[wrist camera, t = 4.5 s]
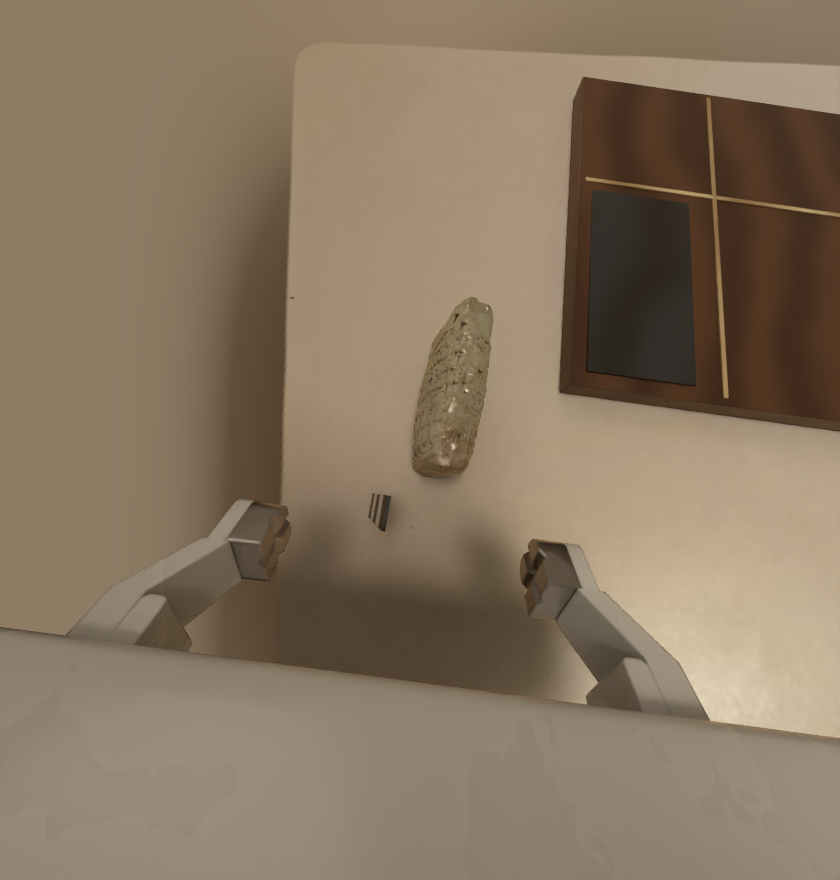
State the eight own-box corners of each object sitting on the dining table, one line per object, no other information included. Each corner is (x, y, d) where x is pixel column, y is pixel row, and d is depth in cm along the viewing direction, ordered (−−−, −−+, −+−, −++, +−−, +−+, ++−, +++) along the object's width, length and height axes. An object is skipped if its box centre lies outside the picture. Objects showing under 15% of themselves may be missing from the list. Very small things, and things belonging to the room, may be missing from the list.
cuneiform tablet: (368, 516, 20) (400, 338, 22) (437, 526, 21) (461, 354, 23) (381, 531, 13) (426, 270, 15) (484, 545, 14) (512, 296, 16)
